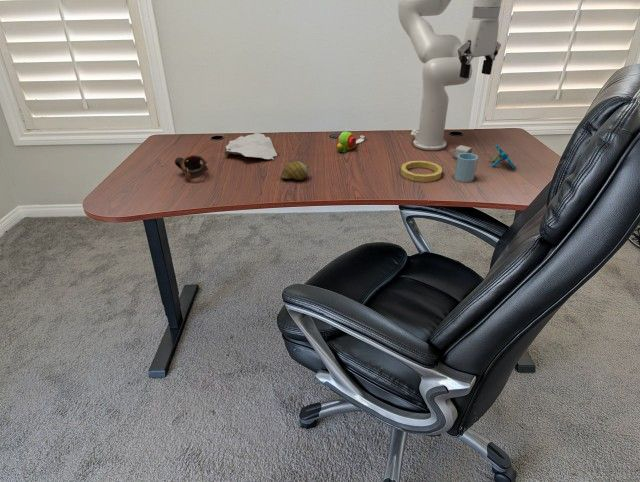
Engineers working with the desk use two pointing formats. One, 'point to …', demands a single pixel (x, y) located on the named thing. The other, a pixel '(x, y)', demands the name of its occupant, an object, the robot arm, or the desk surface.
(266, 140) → the paper
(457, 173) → the cup
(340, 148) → the toy measuring tape
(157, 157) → the desk surface
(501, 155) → the blue branched piece
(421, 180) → the ring
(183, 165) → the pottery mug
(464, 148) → the usb wall charger
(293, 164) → the seashell
